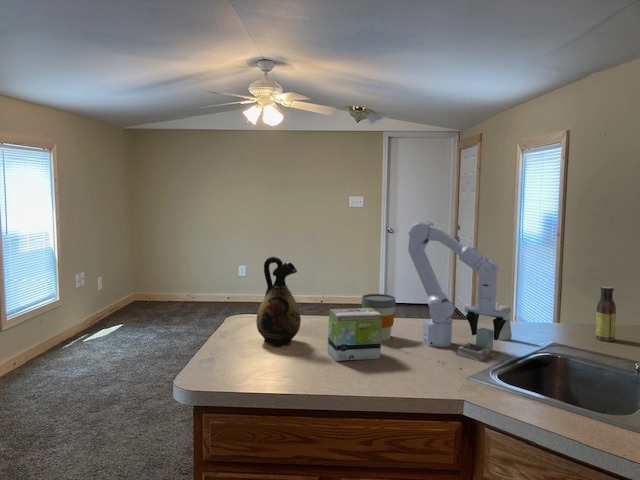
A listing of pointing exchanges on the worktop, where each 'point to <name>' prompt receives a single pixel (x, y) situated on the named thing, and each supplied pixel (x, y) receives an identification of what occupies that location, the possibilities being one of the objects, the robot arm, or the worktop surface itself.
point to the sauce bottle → (606, 315)
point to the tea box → (354, 334)
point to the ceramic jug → (278, 307)
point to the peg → (485, 338)
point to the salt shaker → (505, 325)
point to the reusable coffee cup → (382, 310)
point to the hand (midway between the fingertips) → (485, 337)
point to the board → (475, 352)
